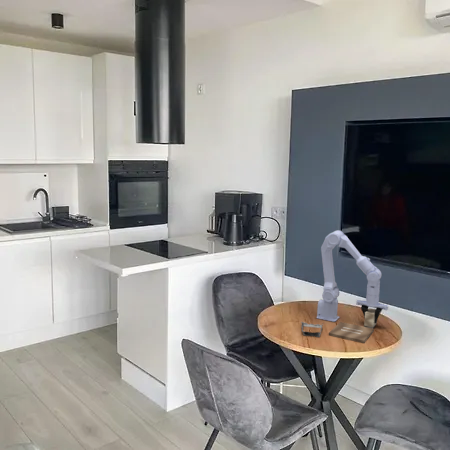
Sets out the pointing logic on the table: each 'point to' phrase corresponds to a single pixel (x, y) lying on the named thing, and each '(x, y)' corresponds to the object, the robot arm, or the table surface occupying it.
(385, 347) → the table surface
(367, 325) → the block
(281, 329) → the table surface
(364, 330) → the walnut board
